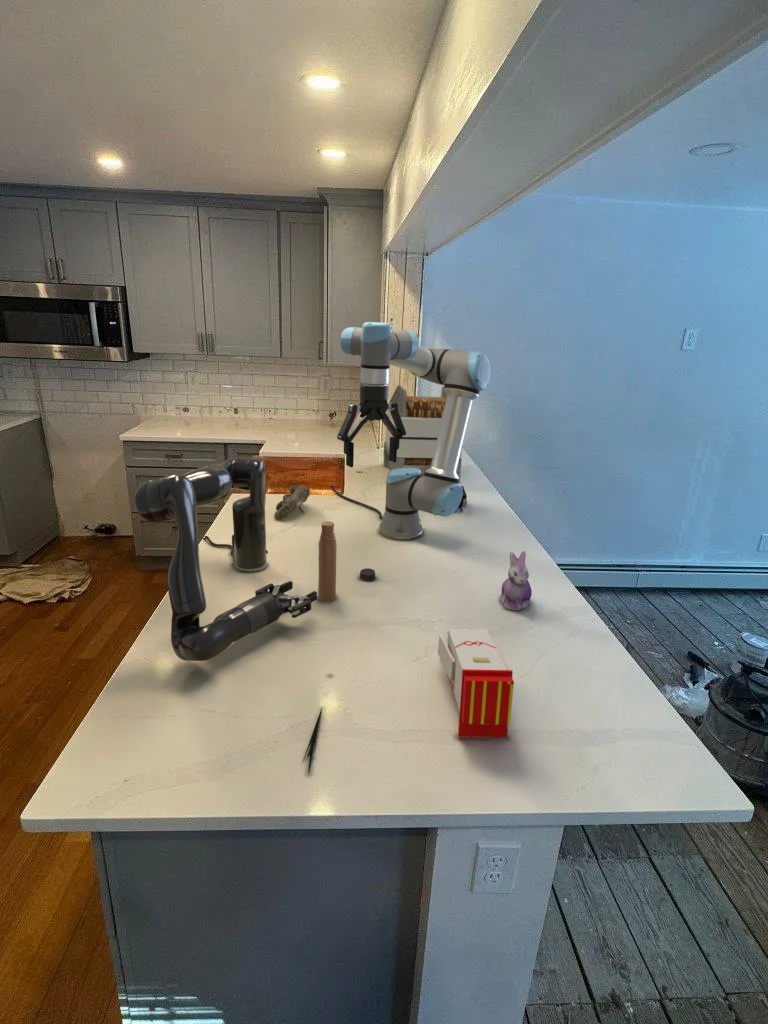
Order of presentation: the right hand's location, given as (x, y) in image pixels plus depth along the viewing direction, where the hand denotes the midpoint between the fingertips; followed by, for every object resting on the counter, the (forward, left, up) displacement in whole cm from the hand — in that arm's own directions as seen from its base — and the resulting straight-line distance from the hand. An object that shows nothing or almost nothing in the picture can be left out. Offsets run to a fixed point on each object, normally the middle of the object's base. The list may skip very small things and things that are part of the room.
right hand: (371, 463), depth 155 cm
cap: (0, 0, -33) cm, 33 cm away
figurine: (+36, +23, -35) cm, 55 cm away
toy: (+54, -16, -35) cm, 66 cm away
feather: (+42, -46, -35) cm, 71 cm away
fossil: (-60, +12, -35) cm, 70 cm away
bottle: (+3, -16, -35) cm, 38 cm away
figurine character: (-28, +69, -35) cm, 82 cm away
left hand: (+5, -25, -28) cm, 39 cm away
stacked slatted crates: (-73, +92, -35) cm, 122 cm away
